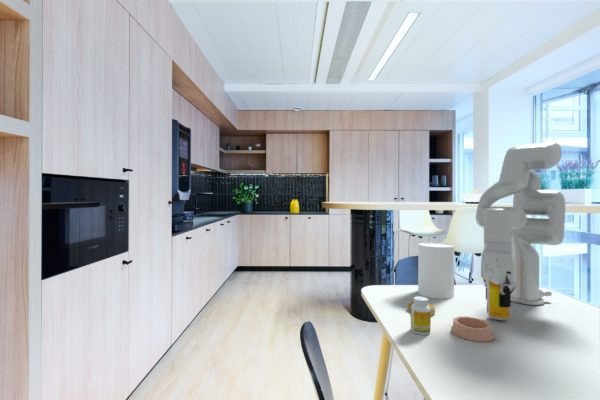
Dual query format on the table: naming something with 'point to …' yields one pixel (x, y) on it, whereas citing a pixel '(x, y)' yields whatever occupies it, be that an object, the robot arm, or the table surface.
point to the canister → (436, 270)
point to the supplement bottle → (420, 316)
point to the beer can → (495, 301)
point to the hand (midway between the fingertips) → (497, 302)
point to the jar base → (472, 329)
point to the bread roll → (428, 305)
